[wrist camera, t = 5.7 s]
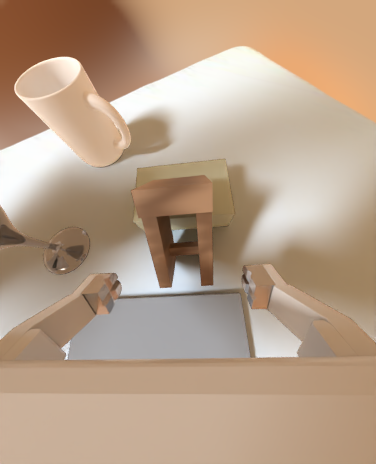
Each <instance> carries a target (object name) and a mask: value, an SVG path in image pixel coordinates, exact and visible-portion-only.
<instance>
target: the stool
mask: <svg viewBox="0 0 376 464" xmlns="http://www.w3.org/2000/svg"><path fill="white" fill-rule="evenodd" d="M131 193H132V197H133V200H134V204H135V208H136V211H137V215H138V218H141V219H142V223H143V226H144V230H145V234H146V237H147V241H148V245H149V248H150V252H151V256H152V260H153V263H154V267H155V271H156V274H157V278H158V282H159V286H160V288H168V287H172V281H173V275H174V268H175V262H176V256H179V255H195V254H199V262H200V274H201V286H208V285H213V241H212V212H213V185H212V182H211V181H210V180H209V179H208V178H207V177H206V176H205V175H199V176H189V177H179V178H170V179H160V180H152V181H150V182H148V183H146V184H144V185H142V186H140V187H138V188H135V189H133V190H131ZM194 213H196V222H197V236H198V241H196V242H182V243H174V241H173V235H172V229H171V223H170V217H169V216H171V215H182V214H194Z"/></svg>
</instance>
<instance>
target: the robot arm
mask: <svg viewBox="0 0 376 464" xmlns="http://www.w3.org/2000/svg"><path fill="white" fill-rule="evenodd" d="M243 273H244V274H243V275H242V286H243V289H244V292H246V293H247V294H248V296H247V299H248V301H249V304H250V306H251V309H268V311H269V312H271V313H272V314H273V315H274V316H275V317H276V318H277V319H278V320H279V321H280V322H281V323H282V324H284V325H285V326H286V327H287V328H288V329H289V330H290V331H291V332H292V333H293V334H294V335H295V336H297V337H298V338H299V339H300V340H301V341H302V343H301V345H300V347H299V349H298V352H297V354H298V356H299V357H267V358H180V359H94V360H64V358H65V357H66V353H65V352H64V351H63V350H62V349H61V348H62V347H63V346H64V345H65V344H66V343H67V342H68V341H70V340H71V339H72V338H73V337H74V336H75V335H76V334H77V333H78V332H79V331H80V330H81V329H82V328H83V327H84V326H86V325H87V324H88V323H89V322H90V321H91V320H92V319H93V318H94V317H95V316H96V315H103V314H110V312H111V311H112V309H113V307H114V305H115V300H116V299H117V298H118V297H119V296H120V294H121V290H122V286H121V283H120V282H119V281H118V280H117V278H118V276H117V274H116V273H99V274H91V275H89V276H88V277H87V278H86V279H85V280H84V282H83V283H82V284H81V285H80V286H79V287H78V288H77V289H76V290H75V291H74V292H73V293H72V295H68V296H66V297H65V298H63V299H61V300H60V301H58V302H56V303H55V304H53V305H51V306H50V307H48V308H46V309H45V310H43V311H41V312H40V313H38V314H36V315H35V316H33V317H31V318H30V319H28V320H26V321H25V322H23V323H21V324H20V325H18V326H16V327H15V328H13V329H12V330H11V331H10V332H9V333H8V334H6V335H5V336H4V337H3V338H2V339H1V340H0V464H376V343H375V342H374V341H373V340H372V339H371V338H370V337H369V336H368V335H367V334H366V333H365V332H364V331H363V330H362V329H361V328H360V327H359V326H358V325H357V324H356V323H355V322H354V321H353V320H352V319H350V318H349V317H347V316H345V315H343V314H342V313H340V312H338V311H336V310H334V309H333V308H331V307H329V306H327V305H325V304H324V303H322V302H320V301H318V300H317V299H315V298H313V297H311V296H309V295H308V294H306V293H304V292H302V291H300V290H299V289H297V288H295V287H293V286H292V285H287V284H286V282H285V281H284V280H283V279H282V277H281V276H280V275H279V274H278V272H277V271H276V270H275V269H274V267H273V266H272V265H271V264H261V265H260V264H259V265H244V266H243Z"/></svg>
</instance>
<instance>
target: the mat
mask: <svg viewBox="0 0 376 464" xmlns="http://www.w3.org/2000/svg"><path fill="white" fill-rule="evenodd" d="M180 358H251V357H250V351H249V345H248V338H247V332H246V326H245V319H244V313H243V307H242V300H241V294H240V293H224V294H203V295H182V296H161V297H139V298H118V299H116V300H115V305H114V307H113V309H112V311H111V312H110V314H103V315H96V316H95V317H94V318H93V319H92V320H91V321H90V322H89V323H88V324H87V325H86V326H84V327H83V328H82V329H81V330H80V331H79V332H78V333H77V334H76V335H75V336H74V337H73V338H72V339H71V343H70V349H69V354H68V360H94V359H180Z"/></svg>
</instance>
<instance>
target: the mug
mask: <svg viewBox="0 0 376 464" xmlns="http://www.w3.org/2000/svg"><path fill="white" fill-rule="evenodd" d="M15 93H16V94H17V96H18V97H19V98H20V99H21V100H23V102H25V103H26V105H27V106H28V107H29V108H30V109H32V111H34V113H36V114H37V115H38V116H39V117H40V118H41V119H42V120H43V121H44V122H45V123H46V124H47V125H48V126H49V127H50V128H51V129H52V130H53V131H54V132H55V133H56V134H57V135H58V136H59V137H60V138H61V139H62V140H63V141H64V142H65V143H66V144H67V145H68V146H69V147H70V148H71V149H72V150H73V151H74V152H75V153H76V154H77V155H78V156H79V157H80V158H81V159H82V160H83V161H84V162H86V163H87V164H89V165H91V166H94V167H104V166H108V165H110V164H112V163H114V162H115V161H117V160H118V159H119V158H120V156H121V155H122V153H123V151H124V149H126V148H128V147H129V146H130V143H131V135H130V132H129V129H128V126H127V125H126V123H125V121H124V119H123V118H122V117H121V115H120V114H119V113H118V111H117V110H116V109H115V108H114V107H113V106H112V105H111V104H110V103H108V102H107V101H106V100H104V99H103V98H101V97H100V96H99V95H98V93H97V92H96V90H95V88H94V87H93V85H92V83H91V81H90V79H89V77H88V76H87V74H86V72H85V70H84V69H83V67H82V65H81V63H80V62H79V61H78V60H76V59H74V58H71V57H58V58H53V59H49V60H46V61H43V62H40V63H38V64H36V65H34V66H33V67H31V68H30V69H28V70H27V71H26V72H24V73H23V74H22V75H21V76H20V77H19V79H18V80H17V82H16V84H15ZM114 123H115V124H114ZM115 125H116V126H117V127H118V129H119V131H120V133H121V135H122V137H121V135H120V133H119V131H118V129H117V127H116V126H115Z"/></svg>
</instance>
